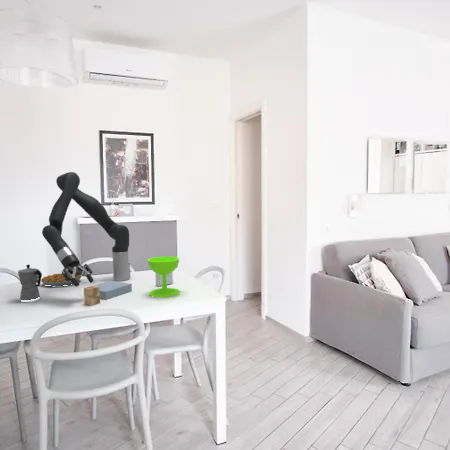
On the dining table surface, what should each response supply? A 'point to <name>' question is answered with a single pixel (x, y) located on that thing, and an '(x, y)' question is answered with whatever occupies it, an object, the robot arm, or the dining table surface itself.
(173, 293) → the wineglass
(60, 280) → the pie
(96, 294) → the oak block
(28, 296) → the coffeepot
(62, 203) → the robot arm
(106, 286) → the block
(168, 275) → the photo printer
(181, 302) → the dining table surface
